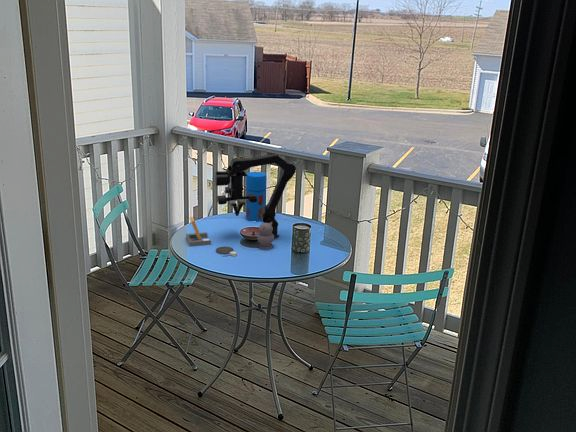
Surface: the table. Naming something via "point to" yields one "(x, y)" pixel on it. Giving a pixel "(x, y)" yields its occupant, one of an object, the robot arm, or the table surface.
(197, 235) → the block
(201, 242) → the breaker housing
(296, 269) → the table surface
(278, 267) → the table surface
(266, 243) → the cat figurine
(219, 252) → the ping pong paddle
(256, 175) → the thermos
